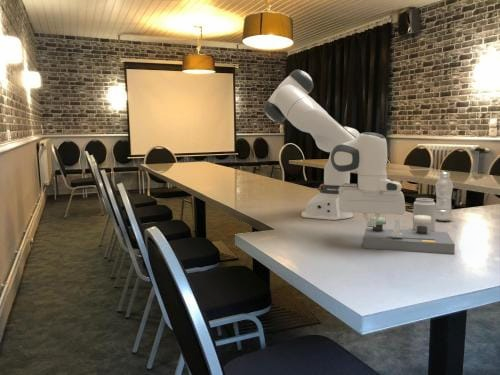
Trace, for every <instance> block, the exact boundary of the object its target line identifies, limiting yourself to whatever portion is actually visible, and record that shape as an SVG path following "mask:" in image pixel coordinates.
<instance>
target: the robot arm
mask: <svg viewBox="0 0 500 375" xmlns="http://www.w3.org/2000/svg"><path fill="white" fill-rule="evenodd" d="M313 89H314V82H313V79H312V77H311V76H310V74H309V73H307V72H306V71H305V70H304V71H303V70H300V69H295V70H293V71H292V72H290V73H289V75H288V76H287V77H285V79H284V80H283V81H281V83H280V84H279V85H278V86H277V87H276V89H275V90H274V92H272V94H271V95H270V97H269V98H268V99H267V100H266V101H265V103H264V105H263V110H264V113H265V114H266V117H268V118H269V119H270V120H271V121H273V122H276V123H283V122H284V121H286V120H287V121H289V122H290V123H291V125H292V126H293V127H294V128H296V129H298V130H299V131H301V132H303V133H308V134H310V135H311V136H312V138H313V140H314V141H315V144H316V147H317V148H318V149H320V150H321V151H324V152H326V153H329V157H328V160H327V161H326V163H325V165H324V167H323V168H324V169H323V170H324V171H323V183H321V184H320V185H319V187H318V188H319V189H318V191H319V193H317V194H316V195H315V196H313V197H311V199H310V200H309V201H308V202H307V204H306V208H305V210H304V211H302V212H301V213H300V214H301V217H302V218H306V219H307V218H308V219H319V220H320V219H321V220H330V221H331V220H333V221H335V220H336V221H337V220H338V221H339V220H344V219H350V218H353V217H354V213H355V214H357V213H360V214H362V217H363V218H364V220H365V222H366V223H365V224H366V225H365V226H366V227H365V228H373V227H376V222H377V220H378V219H379V217H381V214H384V215H404V214H406V202H405V195H404V193H403V192H402V191H401V190H402V183H401V182H399V181H395V180H392V179H388V172H387V168H386V167H387V164H388V163H387V162H388V144H387V139H386V137H385V136H384V134H380V133H377V132H370V131H369V132H368V131H365V132H362V133H360V132H359V131H358V130H357V129H356V128H353V127H349V126H343V125H342V124H341V123H339V122H338V121H337V120H336V119H334V118H333V117H332V116H331V115H330V114H329V113H328V111H326V110H325V109H324V108H323V107H322V106H321V105H320V104H319V103H317V101H315V100H314V98H312V97H311V96H310V95H309V94H311V93H312V90H313ZM355 172H357V183H351V182H350V180H351V173H355ZM369 214H374V217H376V218H375V220H374V221H370V219H369V218H368V215H369Z"/></svg>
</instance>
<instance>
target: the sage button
mask: <svg viewBox="0 0 500 375" xmlns="http://www.w3.org/2000/svg"><path fill="white" fill-rule="evenodd" d="M375 218H376V217H375V216H371V217H369V221H374V220H375ZM386 222H387V218H386V217H383V216H380V217H379V219H378V220H377V222H376V225H383V226H384V225H386V224H387V223H386Z"/></svg>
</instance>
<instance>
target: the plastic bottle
mask: <svg viewBox="0 0 500 375" xmlns="http://www.w3.org/2000/svg"><path fill="white" fill-rule="evenodd" d="M450 178H451V172H449V171H440V172H439V178H438V180H436V182H435V185H434V187H435V194H436V196H435V197H436V202H435V203H436V212H435V221H437V220H438V221H441V222H449V221H451V220H452V219H453V211H452V196H453V191H454V184H453V182H452V180H451V179H450Z"/></svg>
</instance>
